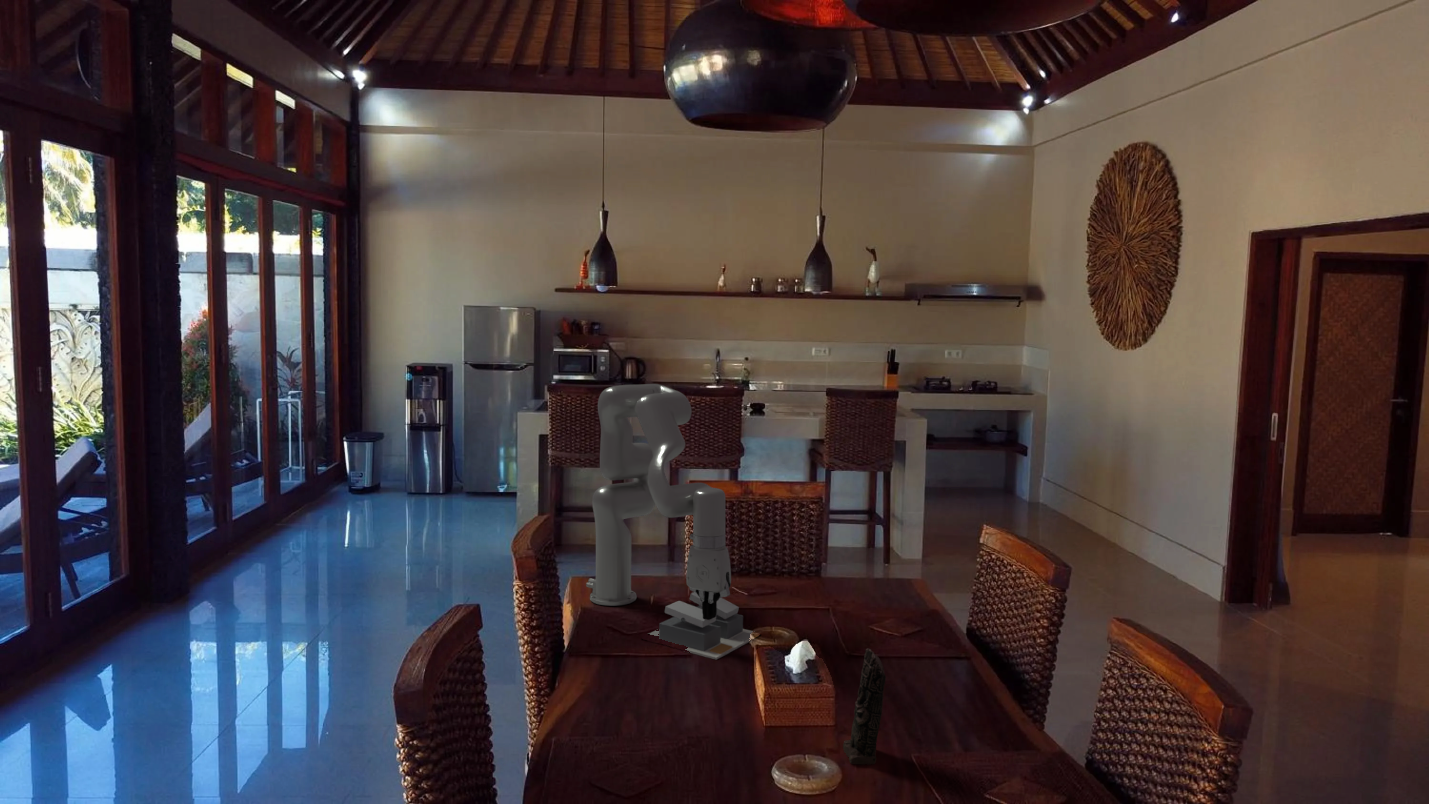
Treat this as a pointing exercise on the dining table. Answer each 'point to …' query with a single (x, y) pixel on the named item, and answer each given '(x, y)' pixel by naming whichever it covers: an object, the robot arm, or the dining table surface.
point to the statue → (867, 712)
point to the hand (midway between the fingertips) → (709, 617)
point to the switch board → (706, 635)
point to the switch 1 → (688, 613)
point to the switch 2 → (719, 606)
